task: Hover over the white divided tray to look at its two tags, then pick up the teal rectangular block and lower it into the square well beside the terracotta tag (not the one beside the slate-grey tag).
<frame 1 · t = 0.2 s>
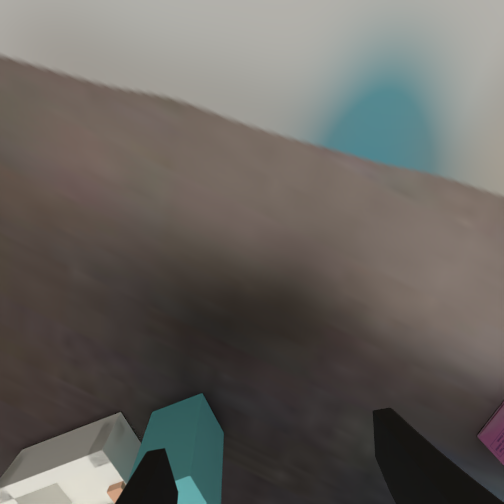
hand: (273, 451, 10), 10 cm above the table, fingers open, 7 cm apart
white divided tray: (123, 503, 23), on the table
teal rectangular block: (188, 422, 21), on the table
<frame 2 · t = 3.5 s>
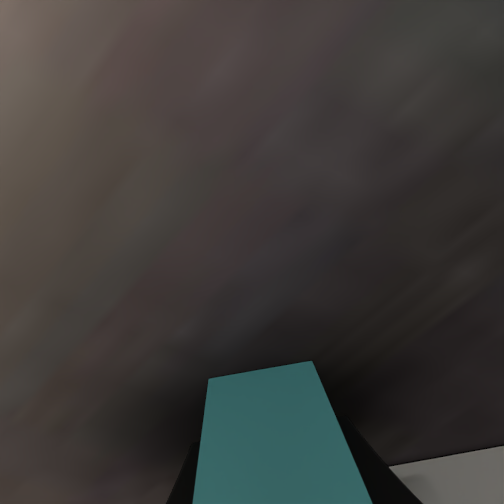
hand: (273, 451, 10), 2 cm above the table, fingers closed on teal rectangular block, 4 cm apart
teal rectangular block: (267, 411, 11), on the table, touching gripper
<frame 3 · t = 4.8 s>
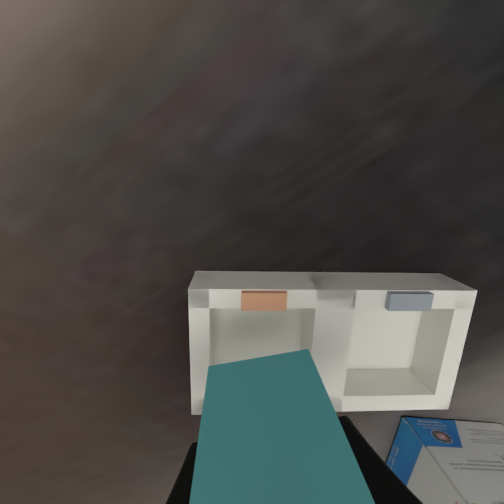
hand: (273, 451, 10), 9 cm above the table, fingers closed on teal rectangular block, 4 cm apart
white divided tray: (315, 327, 19), on the table
teal rectangular block: (265, 399, 12), point 7 cm above the table, touching gripper
ink box: (434, 457, 23), on the table
when the fingers open (4 cm above the table, at t = 6.1 s): teal rectangular block drops 1 cm, resting on white divided tray.
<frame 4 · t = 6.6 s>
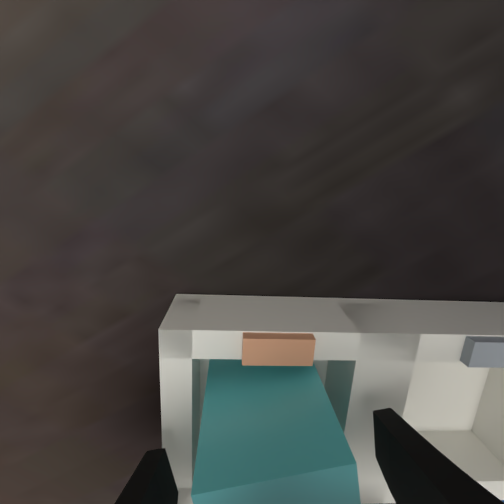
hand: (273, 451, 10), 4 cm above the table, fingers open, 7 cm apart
white divided tray: (344, 374, 14), on the table
teal rectangular block: (263, 377, 13), resting on white divided tray
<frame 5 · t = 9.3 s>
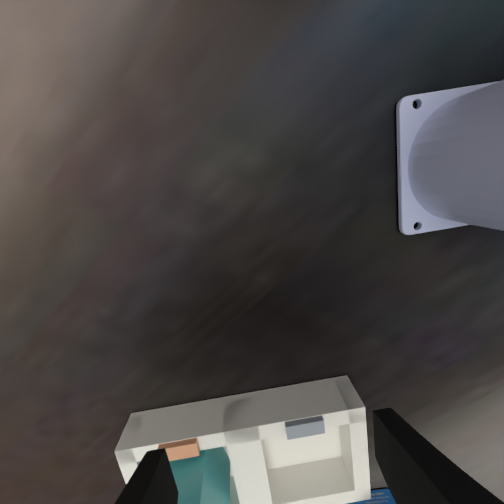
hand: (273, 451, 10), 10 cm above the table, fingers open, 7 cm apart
white divided tray: (248, 437, 22), on the table
teal rectangular block: (195, 450, 21), resting on white divided tray
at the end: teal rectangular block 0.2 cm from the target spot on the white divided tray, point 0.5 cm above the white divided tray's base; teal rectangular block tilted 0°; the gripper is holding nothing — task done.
